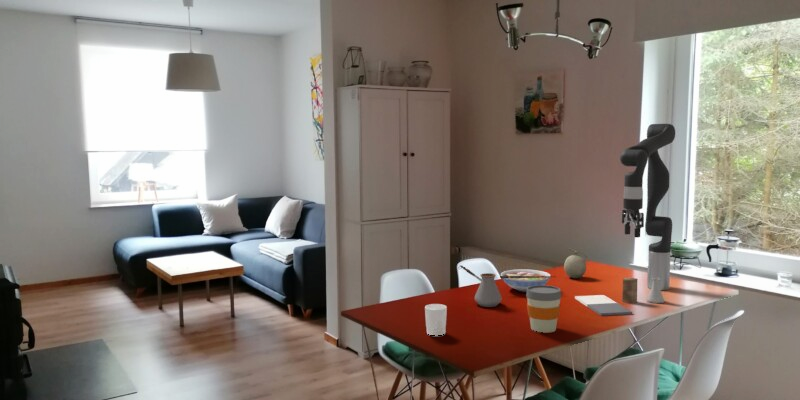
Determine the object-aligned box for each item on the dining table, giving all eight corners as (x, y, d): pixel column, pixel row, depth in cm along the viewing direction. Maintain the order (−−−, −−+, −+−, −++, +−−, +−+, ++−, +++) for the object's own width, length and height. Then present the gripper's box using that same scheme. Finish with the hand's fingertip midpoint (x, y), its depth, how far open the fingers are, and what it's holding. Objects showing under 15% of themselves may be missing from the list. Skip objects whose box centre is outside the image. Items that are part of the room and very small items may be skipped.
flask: (666, 304, 253) (667, 280, 252) (648, 303, 254) (648, 280, 253) (662, 299, 260) (663, 276, 259) (644, 298, 261) (645, 276, 260)
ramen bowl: (547, 283, 291) (547, 267, 290) (558, 296, 268) (558, 278, 267) (495, 284, 291) (495, 267, 291) (501, 296, 269) (501, 278, 268)
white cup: (424, 330, 224) (423, 304, 223) (445, 329, 224) (444, 303, 223) (426, 337, 216) (426, 310, 215) (448, 336, 216) (448, 309, 215)
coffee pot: (507, 304, 257) (507, 269, 255) (490, 310, 249) (490, 274, 247) (468, 295, 272) (467, 262, 270) (451, 300, 264) (451, 267, 262)
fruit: (590, 280, 296) (591, 250, 295) (567, 280, 297) (567, 250, 295) (584, 275, 307) (584, 246, 305) (561, 275, 307) (561, 246, 305)
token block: (622, 302, 257) (622, 279, 256) (626, 300, 260) (627, 277, 259) (632, 303, 254) (633, 280, 253) (636, 301, 257) (637, 278, 256)
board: (574, 298, 263) (574, 296, 263) (603, 297, 265) (603, 294, 265) (600, 315, 238) (600, 313, 238) (632, 314, 239) (632, 311, 239)
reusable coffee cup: (537, 321, 232) (537, 283, 230) (567, 328, 223) (567, 288, 222) (519, 329, 223) (519, 289, 221) (549, 336, 214) (550, 295, 213)
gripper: (650, 198, 245) (649, 238, 247) (633, 195, 260) (632, 233, 261) (632, 199, 245) (631, 238, 246) (616, 196, 259) (615, 233, 260)
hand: (632, 235), depth 254 cm, fingers open, 8 cm apart
